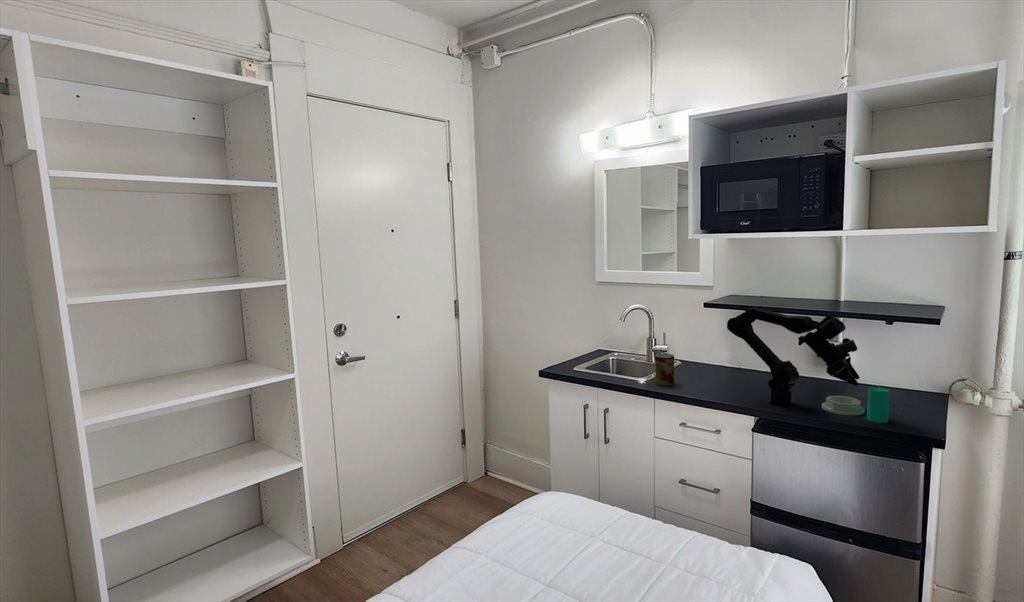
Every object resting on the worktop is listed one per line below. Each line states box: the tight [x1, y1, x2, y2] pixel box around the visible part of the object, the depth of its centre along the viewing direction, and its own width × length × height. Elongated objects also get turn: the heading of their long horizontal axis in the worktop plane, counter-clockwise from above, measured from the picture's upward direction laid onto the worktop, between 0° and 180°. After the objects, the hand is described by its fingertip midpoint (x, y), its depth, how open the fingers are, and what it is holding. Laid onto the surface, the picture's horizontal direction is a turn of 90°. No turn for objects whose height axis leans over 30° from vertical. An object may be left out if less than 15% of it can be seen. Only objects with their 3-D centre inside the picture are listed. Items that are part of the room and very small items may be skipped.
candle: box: [866, 384, 891, 424], centre depth 179 cm, size 6×6×12 cm
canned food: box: [654, 353, 675, 386], centre depth 231 cm, size 8×8×12 cm
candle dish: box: [821, 395, 866, 417], centre depth 190 cm, size 13×13×4 cm
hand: (858, 381), depth 181 cm, fingers open, 9 cm apart
